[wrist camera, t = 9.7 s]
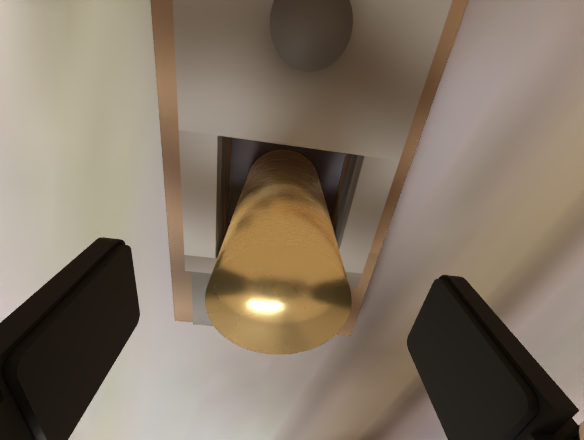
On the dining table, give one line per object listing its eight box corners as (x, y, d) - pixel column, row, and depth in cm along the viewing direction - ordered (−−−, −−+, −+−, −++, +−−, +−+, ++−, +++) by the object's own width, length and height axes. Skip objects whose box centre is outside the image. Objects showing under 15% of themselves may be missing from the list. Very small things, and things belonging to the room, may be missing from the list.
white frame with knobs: (347, 322, 21) (359, 373, 17) (180, 307, 20) (157, 358, 16) (462, -26, 11) (540, -66, 8) (157, -87, 10) (92, -164, 7)
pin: (312, 221, 17) (334, 359, 9) (244, 212, 16) (205, 348, 9) (325, 154, 15) (369, 255, 7) (249, 144, 15) (204, 237, 7)
